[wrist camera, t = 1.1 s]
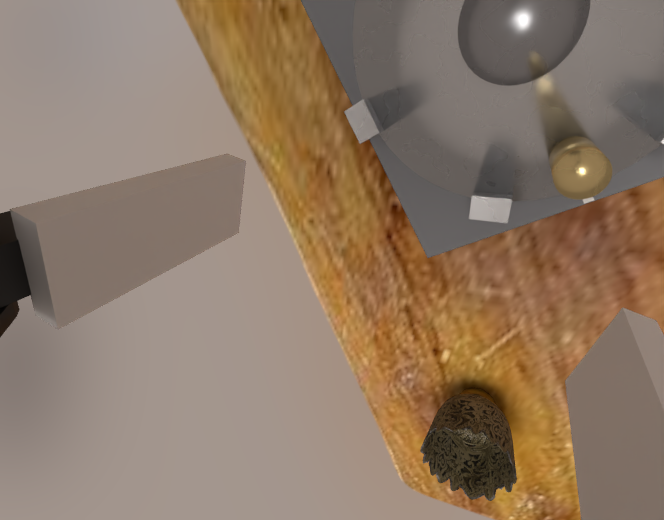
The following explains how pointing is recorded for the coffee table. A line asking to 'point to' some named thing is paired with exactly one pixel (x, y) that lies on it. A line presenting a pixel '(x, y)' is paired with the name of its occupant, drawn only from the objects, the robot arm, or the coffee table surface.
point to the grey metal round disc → (511, 93)
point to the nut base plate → (427, 198)
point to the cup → (471, 445)
